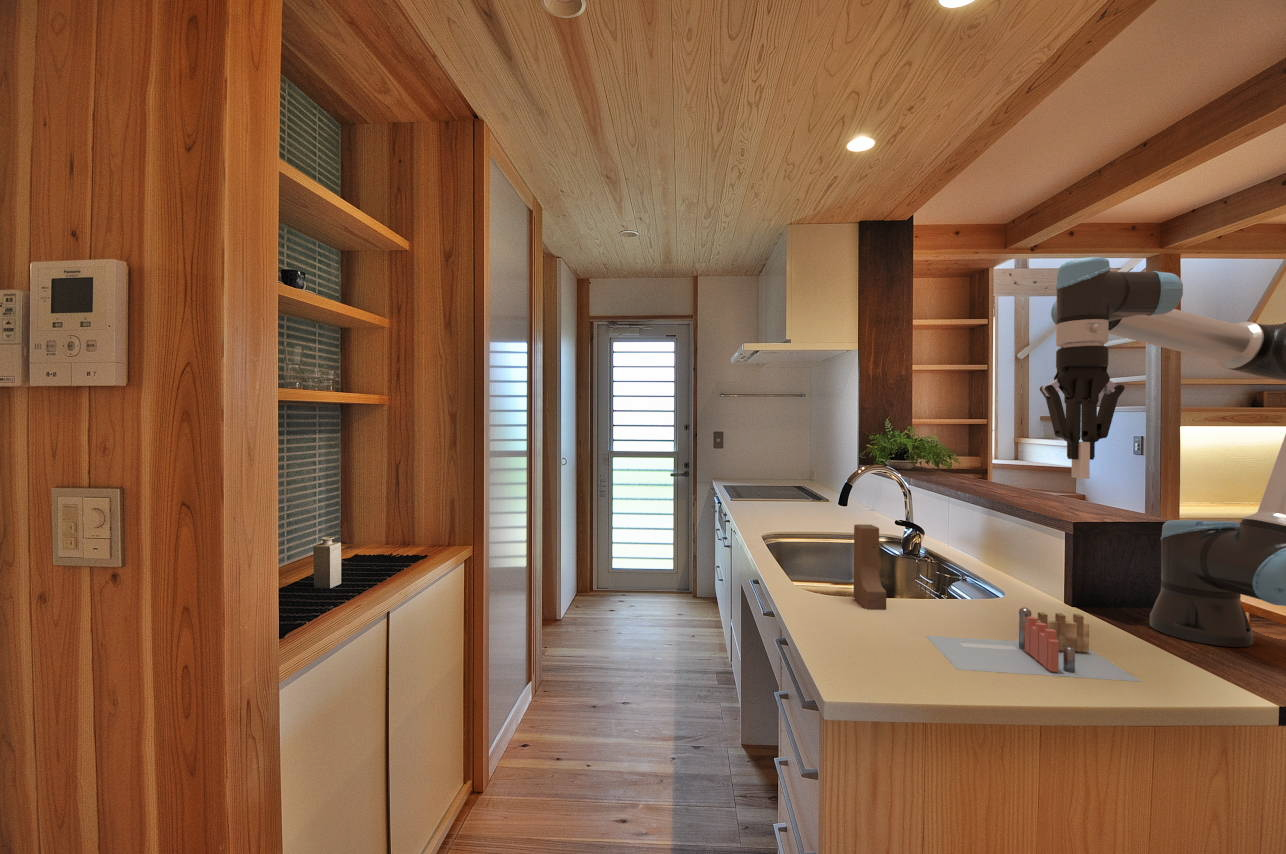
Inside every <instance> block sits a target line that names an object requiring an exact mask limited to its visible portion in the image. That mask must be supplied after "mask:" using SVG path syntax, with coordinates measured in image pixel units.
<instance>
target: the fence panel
mask: <svg viewBox="0 0 1286 854" xmlns="http://www.w3.org/2000/svg"><path fill="white" fill-rule="evenodd" d="M1056 636H1057V631H1055V630H1054V629H1047V625H1046V624H1045V623H1038V617H1036V616H1031V617H1027V623H1025V651H1027V653H1029V654H1030V655H1032V656H1033V657H1034V658H1035V659H1036V660H1037V661H1039V662H1040V663H1041V664H1042V665H1044V667H1045V668H1047V669H1048V670H1050V671H1053V672H1059V642H1058V641H1057V640H1056Z"/></svg>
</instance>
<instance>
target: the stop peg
mask: <svg viewBox="0 0 1286 854" xmlns="http://www.w3.org/2000/svg"><path fill="white" fill-rule="evenodd" d="M1063 670H1064V671H1066V672H1069V673H1075V647H1072V646H1067V645H1065V646H1064V654H1063Z"/></svg>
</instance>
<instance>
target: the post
mask: <svg viewBox="0 0 1286 854" xmlns="http://www.w3.org/2000/svg"><path fill="white" fill-rule="evenodd" d="M1027 617H1032V611H1031V610H1030V609H1029V608H1028V607H1025V606H1024V607H1020V608H1019V610H1018V621H1019V622H1018V641H1019V648H1020V649H1022V650H1025V623H1027Z"/></svg>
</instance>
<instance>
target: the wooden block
mask: <svg viewBox="0 0 1286 854" xmlns="http://www.w3.org/2000/svg"><path fill="white" fill-rule="evenodd" d="M852 598H853V601H856V603H858V605H860V606H861V607H862V608H864V610H865V609H866V610H867V611H868V610H869V611H870V610H871V611H873V610H875V611H880V610H881V611H882V610H883V611H885V610H887V591H886V589H885V588H884V587H883V585H882V583H881V579H880V527H878V526H876V525H873V524H857V523H856V524H854V525H853V597H852ZM854 598H855V599H854Z"/></svg>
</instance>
